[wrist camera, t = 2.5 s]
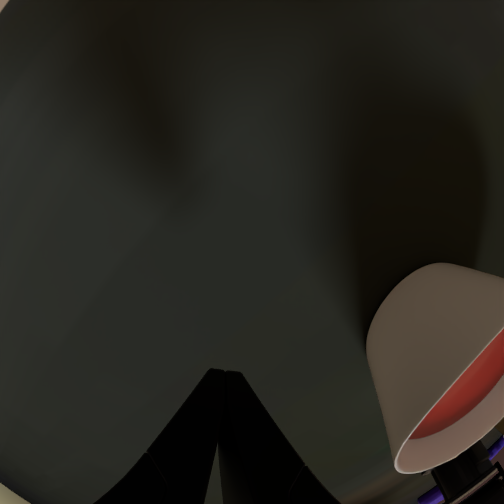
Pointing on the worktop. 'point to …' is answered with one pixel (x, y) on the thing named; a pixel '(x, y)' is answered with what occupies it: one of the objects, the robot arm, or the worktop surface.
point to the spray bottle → (434, 496)
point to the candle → (438, 363)
